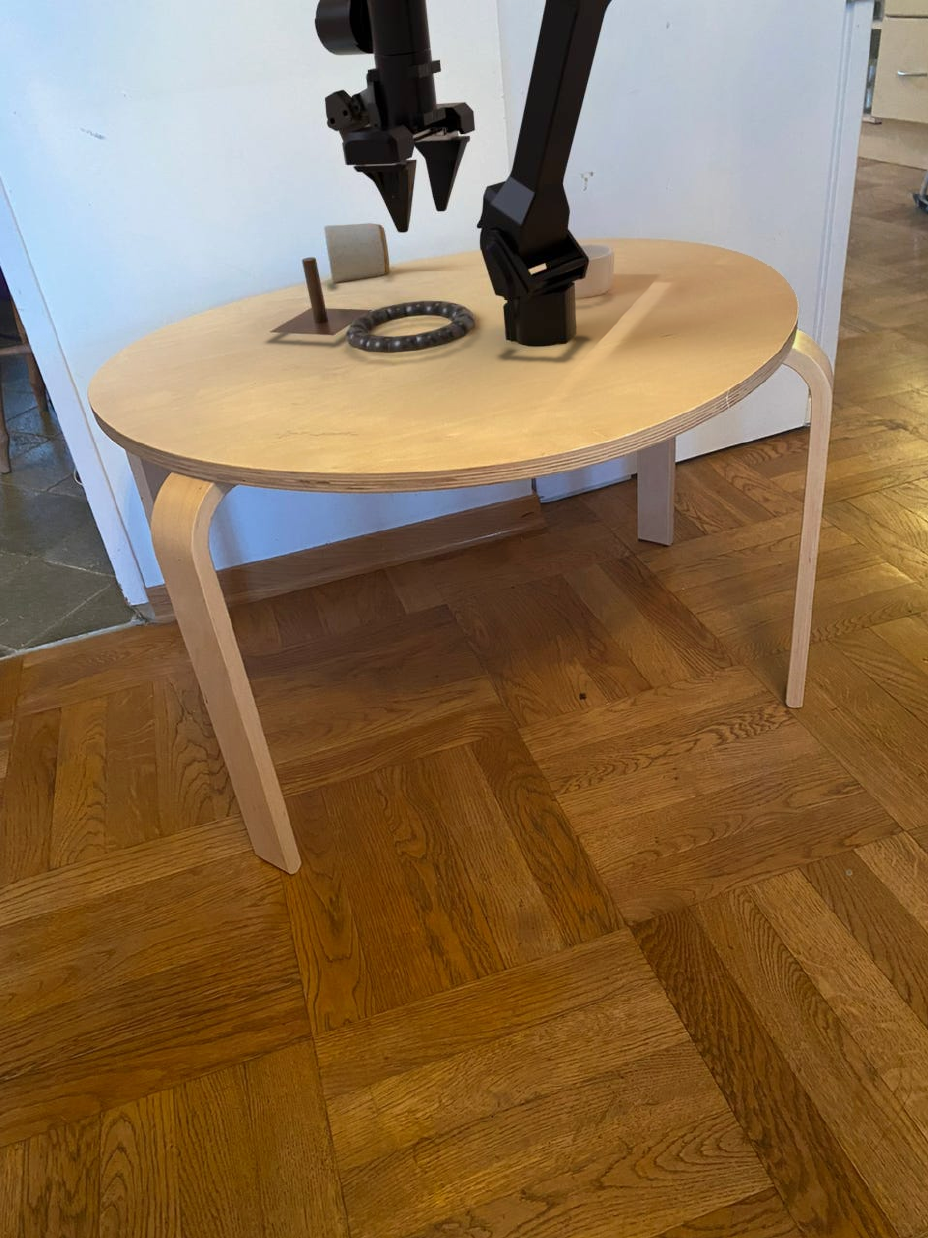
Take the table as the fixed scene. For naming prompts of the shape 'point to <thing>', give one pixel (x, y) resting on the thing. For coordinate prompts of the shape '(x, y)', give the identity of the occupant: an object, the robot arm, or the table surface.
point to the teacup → (596, 270)
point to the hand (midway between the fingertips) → (422, 221)
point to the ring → (387, 344)
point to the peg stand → (318, 310)
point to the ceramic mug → (356, 251)
